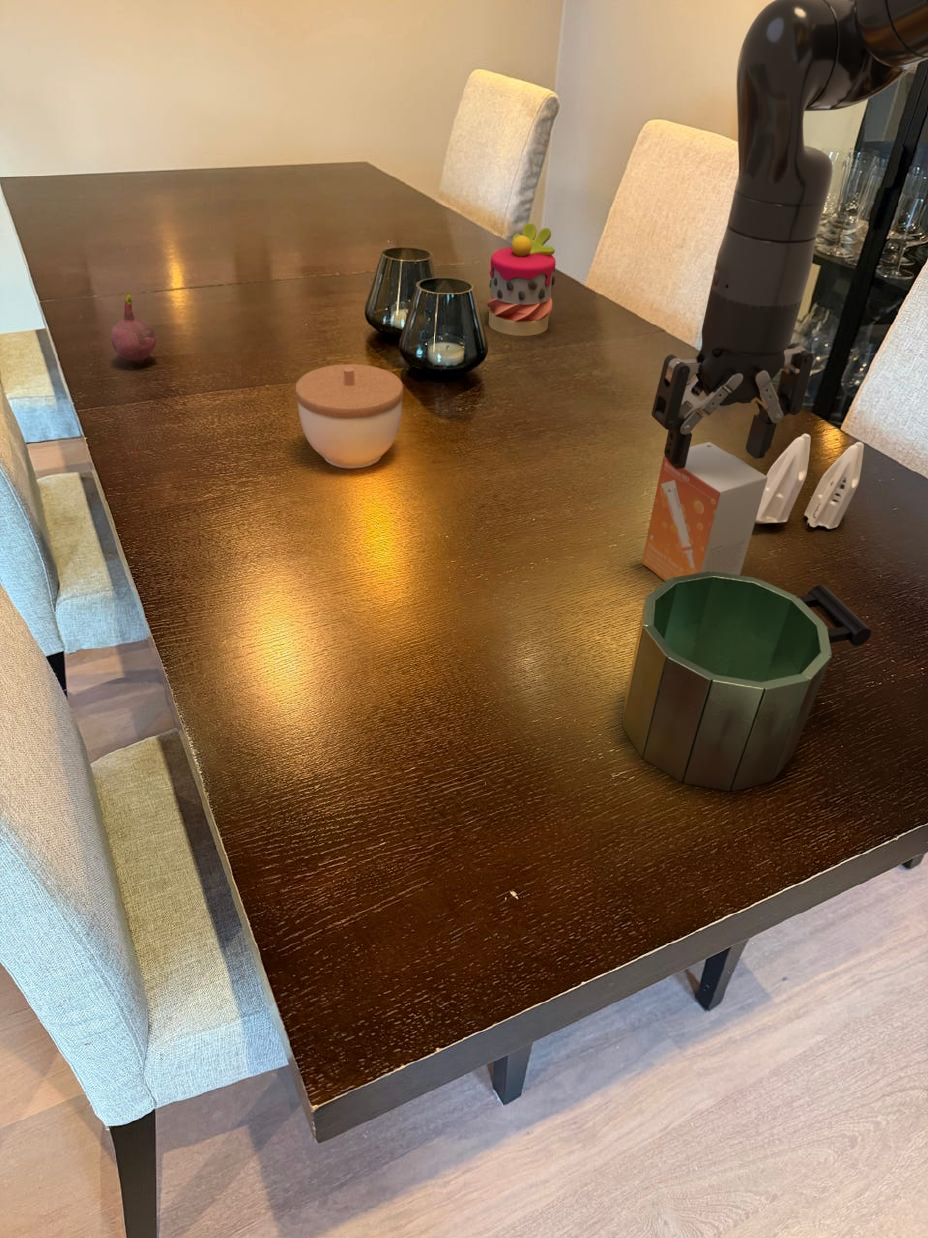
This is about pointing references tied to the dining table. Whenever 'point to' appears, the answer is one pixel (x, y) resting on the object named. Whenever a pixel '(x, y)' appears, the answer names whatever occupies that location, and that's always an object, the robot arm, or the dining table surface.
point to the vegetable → (133, 336)
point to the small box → (703, 514)
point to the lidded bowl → (350, 412)
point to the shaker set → (828, 494)
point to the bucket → (729, 676)
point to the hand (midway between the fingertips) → (715, 459)
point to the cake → (522, 284)
